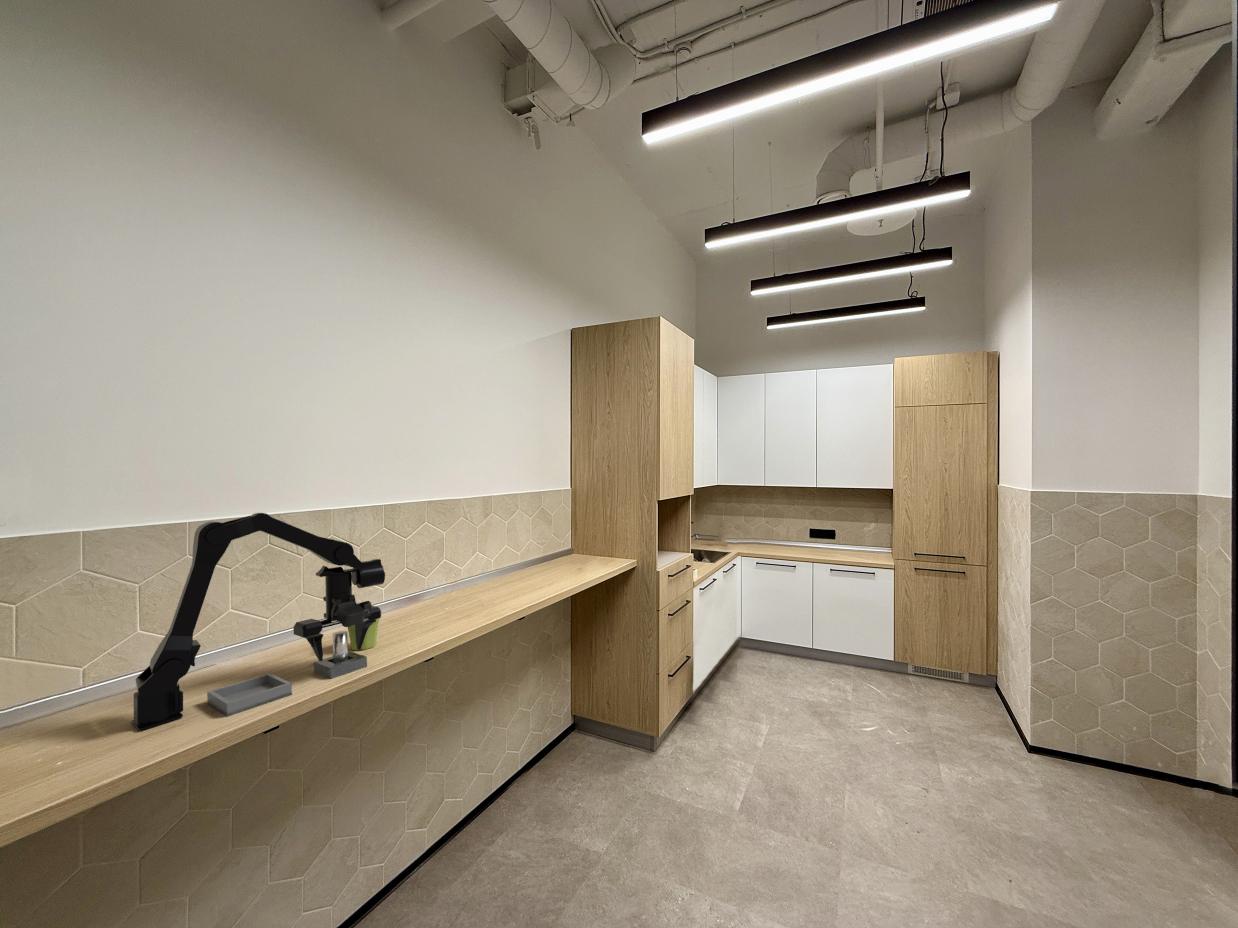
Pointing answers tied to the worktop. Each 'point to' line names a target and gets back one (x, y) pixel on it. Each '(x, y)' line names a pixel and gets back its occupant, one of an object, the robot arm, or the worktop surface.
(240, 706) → the parts tray
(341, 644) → the pin
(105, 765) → the worktop surface
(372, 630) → the plant pot
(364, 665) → the pin holder
